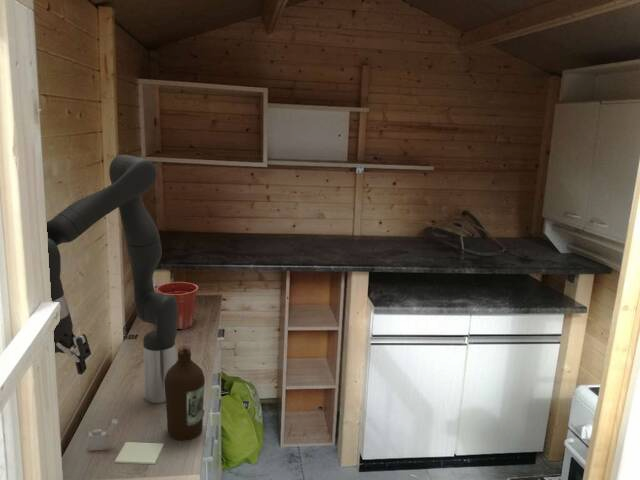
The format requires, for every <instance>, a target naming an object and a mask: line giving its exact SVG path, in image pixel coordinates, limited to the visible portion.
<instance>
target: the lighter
mask: <svg viewBox="0 0 640 480" xmlns="http://www.w3.org/2000/svg"><path fill="white" fill-rule="evenodd" d="M118 422H119V420H118V419H116V418H112V420H111V421H110V423H109V425H108V427H107V429H106V430H105V431H104V430H103V431H102V428H96V429H93V430H91V431H90V432H88V437H87V438H88V450H89V452H91V451H104V450H107V448H108V440H107V436H109V437H111V436H112V434H113V432H114V430H115V428H116V426H117V424H118Z"/></svg>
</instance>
